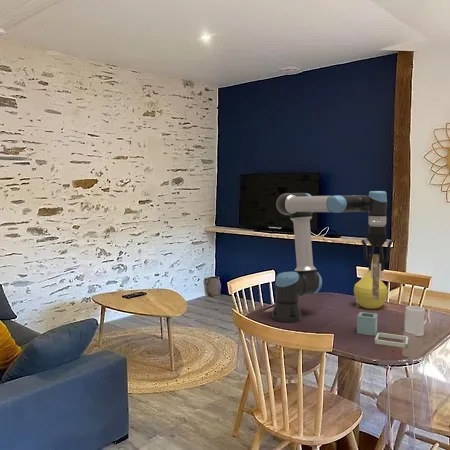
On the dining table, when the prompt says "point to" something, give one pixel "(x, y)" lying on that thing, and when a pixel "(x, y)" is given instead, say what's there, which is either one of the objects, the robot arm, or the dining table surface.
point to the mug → (415, 320)
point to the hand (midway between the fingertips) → (376, 277)
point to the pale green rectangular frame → (391, 341)
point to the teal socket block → (367, 323)
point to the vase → (369, 292)
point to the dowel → (375, 276)
